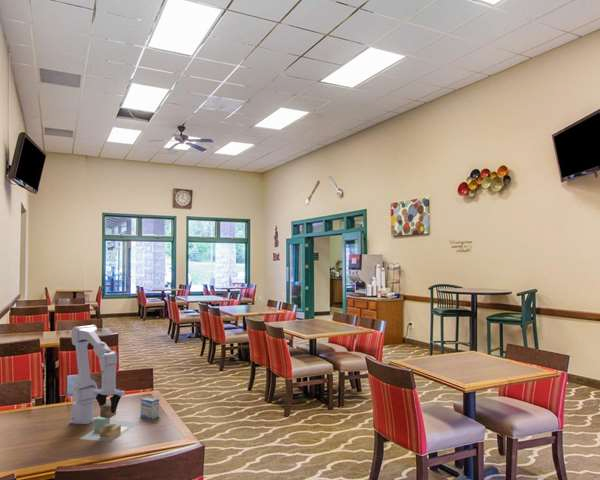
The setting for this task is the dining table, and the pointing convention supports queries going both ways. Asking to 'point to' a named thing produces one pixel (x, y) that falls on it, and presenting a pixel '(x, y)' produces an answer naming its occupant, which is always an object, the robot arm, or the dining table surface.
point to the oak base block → (110, 430)
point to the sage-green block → (100, 422)
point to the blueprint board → (96, 436)
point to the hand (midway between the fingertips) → (108, 411)
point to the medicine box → (149, 408)
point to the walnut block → (106, 411)
